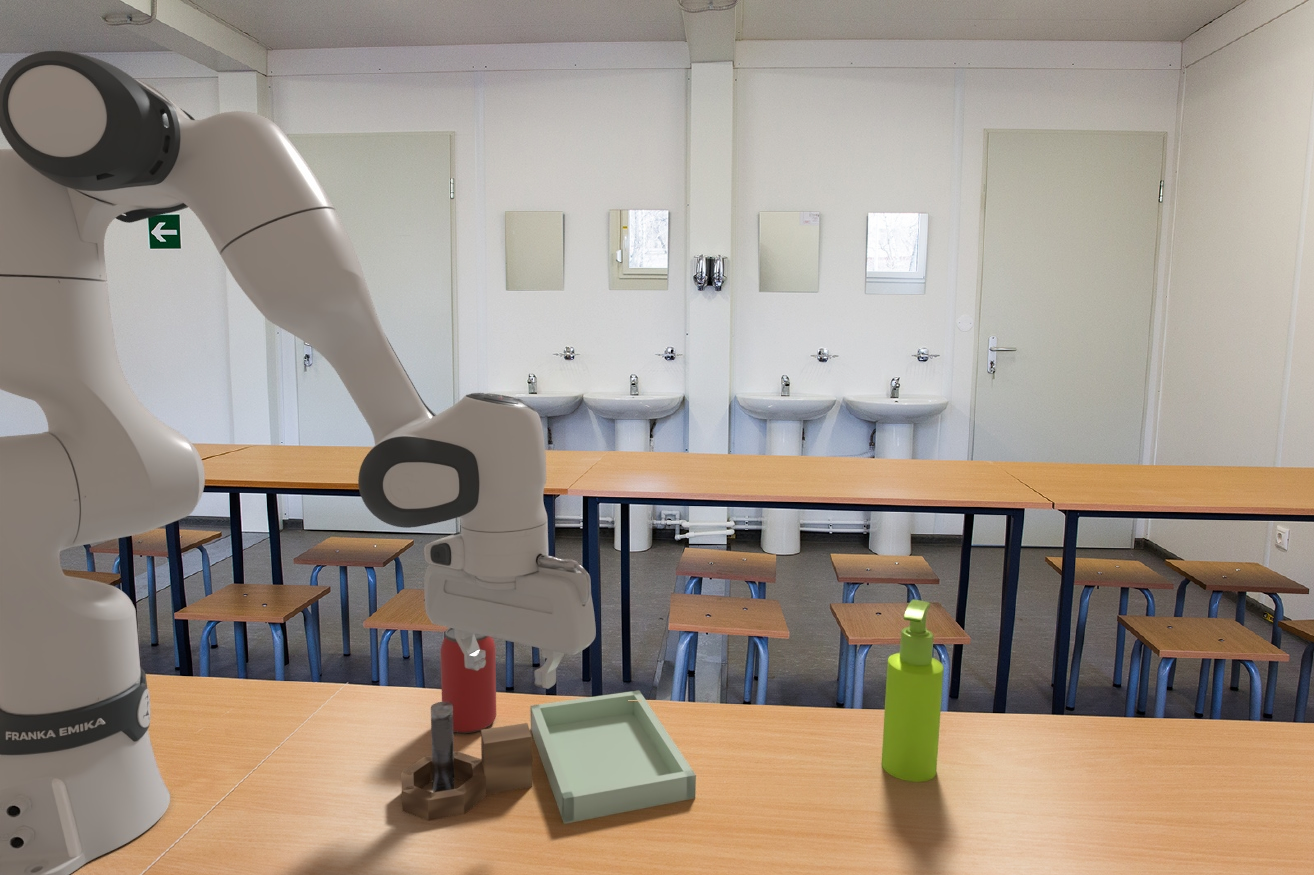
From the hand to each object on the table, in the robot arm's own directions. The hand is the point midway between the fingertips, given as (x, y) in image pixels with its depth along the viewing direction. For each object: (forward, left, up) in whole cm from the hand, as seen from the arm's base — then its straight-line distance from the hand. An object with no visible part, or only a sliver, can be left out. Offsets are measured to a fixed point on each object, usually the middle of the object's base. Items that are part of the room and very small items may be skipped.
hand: (509, 676), depth 83 cm
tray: (+11, +1, -13) cm, 17 cm away
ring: (-7, 0, -13) cm, 14 cm away
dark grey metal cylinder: (-7, 0, -13) cm, 14 cm away
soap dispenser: (+43, -11, -13) cm, 46 cm away
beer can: (-3, +15, -13) cm, 20 cm away
